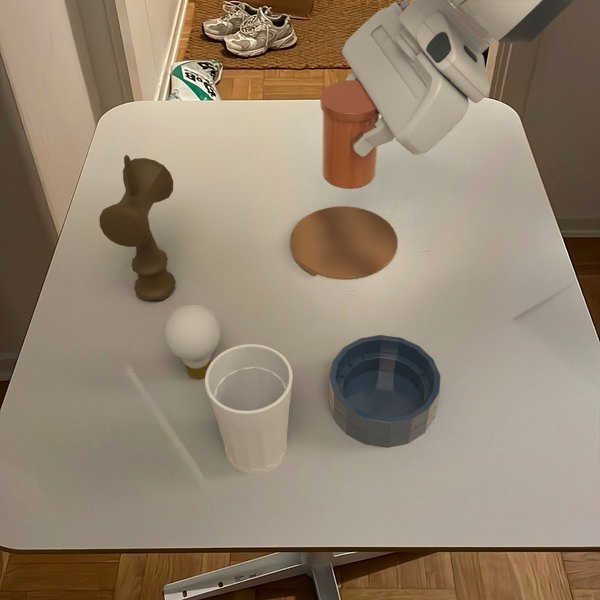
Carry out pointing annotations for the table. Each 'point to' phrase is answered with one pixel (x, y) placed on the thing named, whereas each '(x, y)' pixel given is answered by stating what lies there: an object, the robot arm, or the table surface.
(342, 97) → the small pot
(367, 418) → the bowl
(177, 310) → the light bulb
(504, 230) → the table surface
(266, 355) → the cup
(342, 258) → the disc
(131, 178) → the kendama
